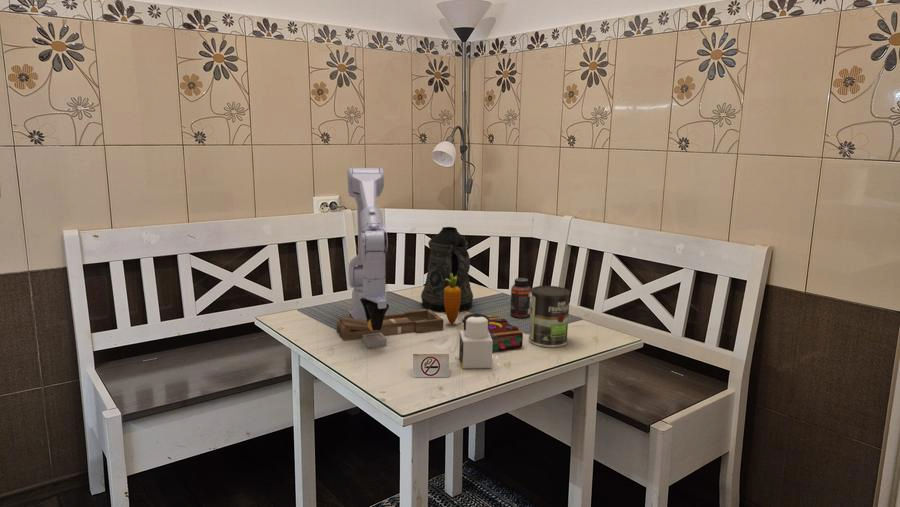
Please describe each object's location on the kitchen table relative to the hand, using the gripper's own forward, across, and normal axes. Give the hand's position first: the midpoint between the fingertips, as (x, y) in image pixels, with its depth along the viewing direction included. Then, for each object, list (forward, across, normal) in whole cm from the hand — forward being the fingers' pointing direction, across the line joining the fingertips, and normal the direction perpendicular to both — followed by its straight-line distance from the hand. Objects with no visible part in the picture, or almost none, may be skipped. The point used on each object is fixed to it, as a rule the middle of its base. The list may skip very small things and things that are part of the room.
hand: (374, 327), depth 158 cm
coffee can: (+5, +14, +44) cm, 46 cm away
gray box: (+4, 0, 0) cm, 4 cm away
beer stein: (+5, -24, +32) cm, 40 cm away
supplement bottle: (+5, -8, +48) cm, 49 cm away
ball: (-1, 0, 0) cm, 1 cm away
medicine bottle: (+4, +21, +19) cm, 29 cm away
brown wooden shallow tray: (+4, -9, +7) cm, 12 cm away
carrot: (+5, -7, +25) cm, 26 cm away
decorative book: (+5, +9, +30) cm, 32 cm away
